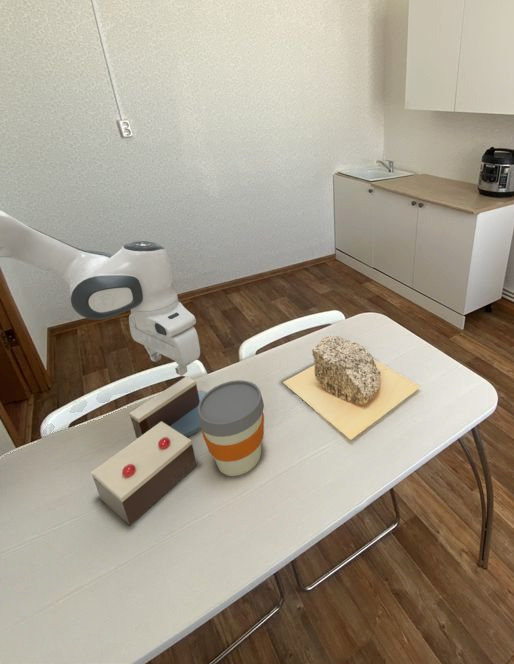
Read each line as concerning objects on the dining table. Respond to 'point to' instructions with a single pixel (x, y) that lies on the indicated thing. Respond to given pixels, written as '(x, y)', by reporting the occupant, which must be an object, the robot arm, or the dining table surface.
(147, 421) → the cake slice
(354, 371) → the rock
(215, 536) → the dining table surface
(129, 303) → the robot arm
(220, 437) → the reusable coffee cup
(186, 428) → the plate
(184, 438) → the cake
